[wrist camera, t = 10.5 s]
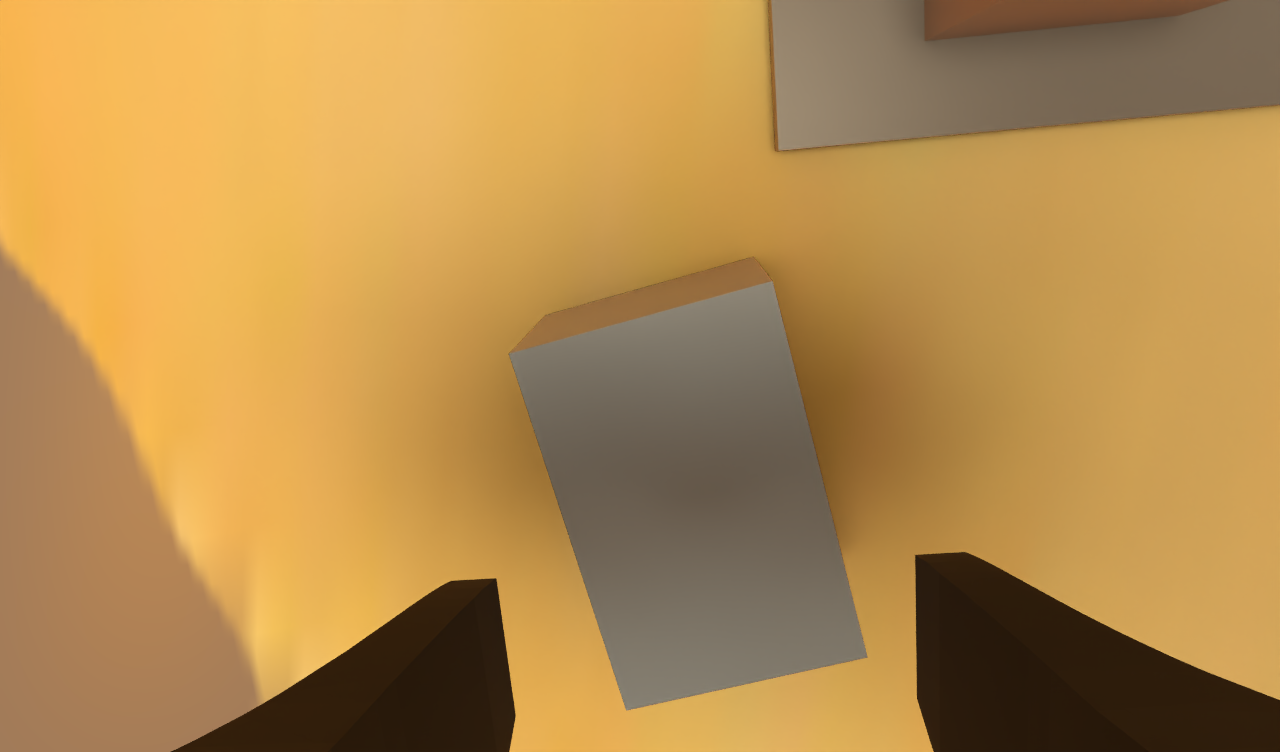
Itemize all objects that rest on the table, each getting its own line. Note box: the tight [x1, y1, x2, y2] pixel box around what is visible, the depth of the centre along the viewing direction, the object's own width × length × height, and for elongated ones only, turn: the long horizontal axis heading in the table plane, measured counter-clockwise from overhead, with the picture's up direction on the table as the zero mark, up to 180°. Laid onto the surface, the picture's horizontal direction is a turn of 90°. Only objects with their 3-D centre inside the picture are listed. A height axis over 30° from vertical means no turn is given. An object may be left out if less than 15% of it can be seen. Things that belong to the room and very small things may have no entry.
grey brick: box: [509, 257, 867, 710], centre depth 16 cm, size 4×7×4 cm, turn 16°
